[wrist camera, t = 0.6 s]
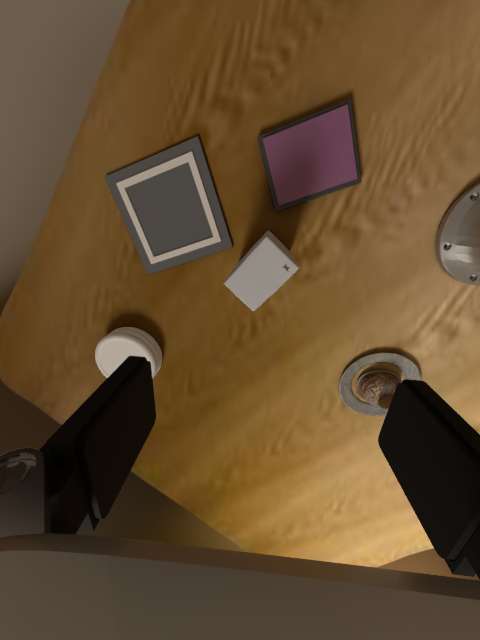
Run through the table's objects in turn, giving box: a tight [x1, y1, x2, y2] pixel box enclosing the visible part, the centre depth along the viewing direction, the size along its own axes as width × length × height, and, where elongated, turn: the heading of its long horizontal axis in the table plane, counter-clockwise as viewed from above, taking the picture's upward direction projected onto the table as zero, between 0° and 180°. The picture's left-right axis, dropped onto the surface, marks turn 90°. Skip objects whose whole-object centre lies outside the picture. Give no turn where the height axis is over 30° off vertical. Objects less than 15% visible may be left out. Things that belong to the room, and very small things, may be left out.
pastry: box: [339, 352, 421, 416], centre depth 37 cm, size 12×12×5 cm
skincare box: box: [224, 230, 299, 311], centre depth 28 cm, size 6×4×12 cm
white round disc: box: [95, 327, 162, 379], centre depth 40 cm, size 10×10×4 cm
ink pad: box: [258, 99, 361, 212], centre depth 28 cm, size 10×8×2 cm
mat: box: [105, 136, 233, 274], centre depth 32 cm, size 13×13×1 cm
